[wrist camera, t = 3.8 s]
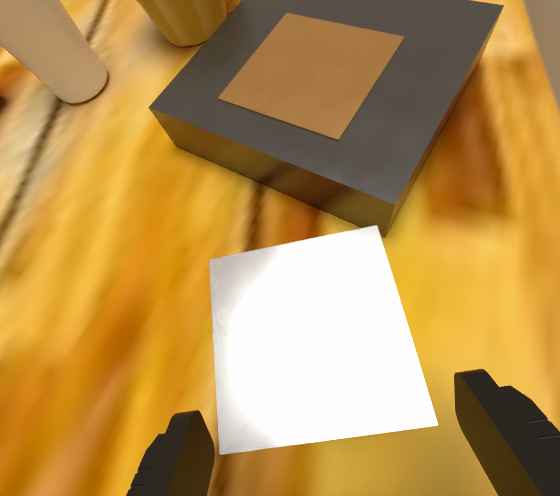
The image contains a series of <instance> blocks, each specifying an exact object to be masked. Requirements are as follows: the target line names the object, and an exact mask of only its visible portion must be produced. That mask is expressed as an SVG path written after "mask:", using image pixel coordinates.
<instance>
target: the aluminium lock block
mask: <svg viewBox="0 0 560 496" xmlns="http://www.w3.org/2000/svg"><path fill="white" fill-rule="evenodd" d="M209 265H210V284H211V303H212V322H213V340H214V359H215V378H216V397H217V416H218V434H219V453H220V455H223V454H230V453H237V452H245V451H252V450H260V449H267V448H274V447H282V446H289V445H296V444H304V443H311V442H319V441H326V440H333V439H341V438H348V437H355V436H363V435H370V434H378V433H385V432H392V431H400V430H407V429H414V428H422V427H429V426H437V425H438V423H437V420H436V416H435V413H434V410H433V407H432V403H431V400H430V397H429V394H428V390H427V387H426V384H425V380H424V377H423V374H422V371H421V367H420V364H419V361H418V358H417V354H416V351H415V348H414V344H413V341H412V338H411V335H410V331H409V328H408V325H407V322H406V318H405V315H404V312H403V308H402V305H401V302H400V299H399V295H398V292H397V289H396V286H395V282H394V279H393V276H392V272H391V269H390V266H389V263H388V259H387V256H386V253H385V250H384V246H383V243H382V240H381V236H380V233H379V230H378V227H377V225H375V226H370V227H365V228H360V229H356V230H351V231H346V232H341V233H336V234H331V235H326V236H321V237H317V238H312V239H307V240H302V241H297V242H292V243H287V244H282V245H278V246H273V247H268V248H263V249H258V250H253V251H248V252H244V253H239V254H234V255H229V256H224V257H219V258H214V259H209Z"/></svg>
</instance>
